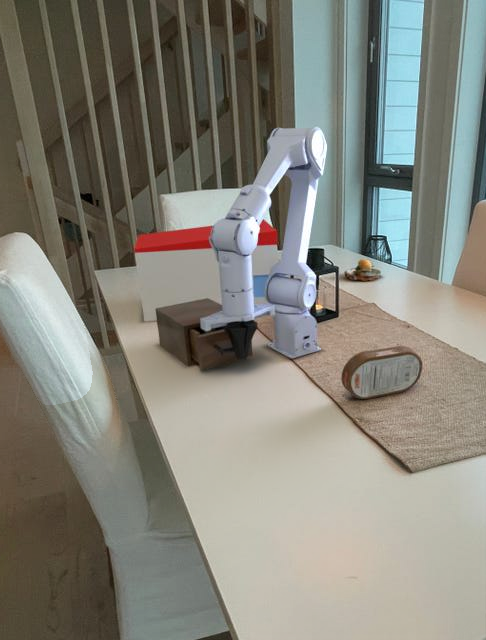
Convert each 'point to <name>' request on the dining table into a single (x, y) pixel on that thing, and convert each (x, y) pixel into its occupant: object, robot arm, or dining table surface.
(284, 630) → the dining table surface
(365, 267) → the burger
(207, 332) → the yellow oval capsule
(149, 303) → the red-topped white box
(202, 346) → the drawer
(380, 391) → the tin
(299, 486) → the dining table surface
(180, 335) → the cabinet
